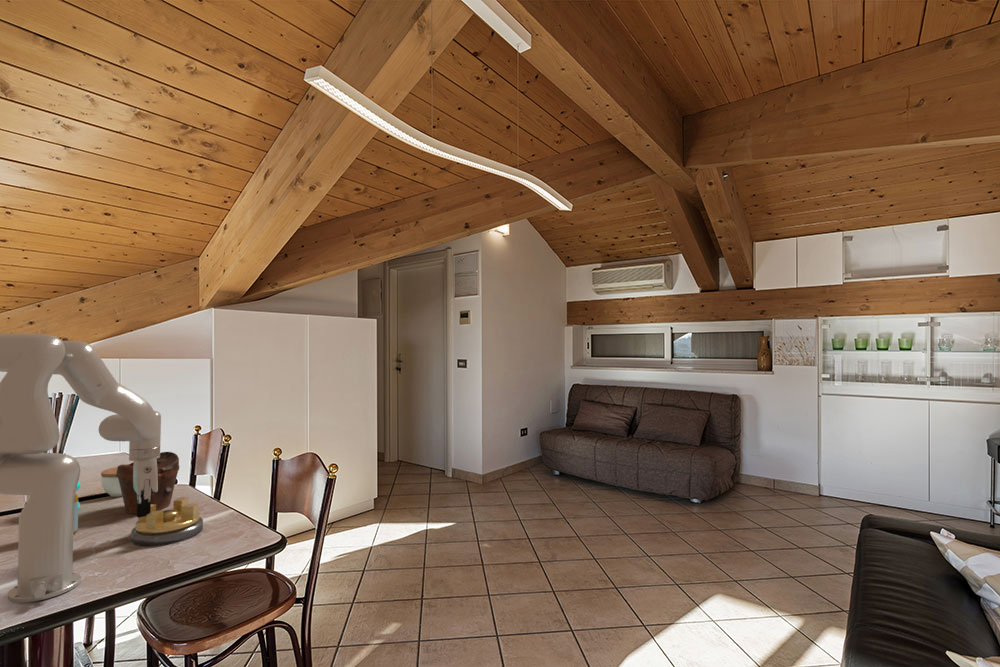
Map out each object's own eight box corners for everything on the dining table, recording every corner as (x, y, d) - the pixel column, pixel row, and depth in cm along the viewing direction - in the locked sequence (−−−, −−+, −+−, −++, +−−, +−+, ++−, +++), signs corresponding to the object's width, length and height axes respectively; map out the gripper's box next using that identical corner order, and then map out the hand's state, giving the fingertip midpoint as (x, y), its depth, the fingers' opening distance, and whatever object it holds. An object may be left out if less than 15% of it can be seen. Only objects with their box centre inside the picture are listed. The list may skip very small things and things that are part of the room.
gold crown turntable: (179, 534, 142) (179, 513, 142) (121, 535, 142) (122, 514, 142) (209, 515, 158) (210, 496, 158) (158, 515, 158) (158, 496, 158)
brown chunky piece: (106, 521, 160) (108, 464, 160) (123, 502, 178) (125, 452, 179) (171, 514, 167) (173, 460, 168) (182, 497, 185) (183, 449, 186)
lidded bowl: (119, 488, 195) (119, 460, 195) (150, 489, 195) (150, 460, 195) (91, 498, 183) (92, 468, 183) (124, 499, 182) (125, 469, 182)
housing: (209, 534, 150) (210, 514, 150) (136, 551, 137) (137, 529, 137) (194, 518, 163) (194, 500, 163) (126, 533, 150) (126, 513, 150)
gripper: (165, 455, 144) (163, 519, 144) (155, 447, 155) (153, 507, 155) (133, 459, 139) (131, 525, 139) (125, 451, 150) (123, 512, 149)
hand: (143, 515), depth 147 cm, fingers closed
